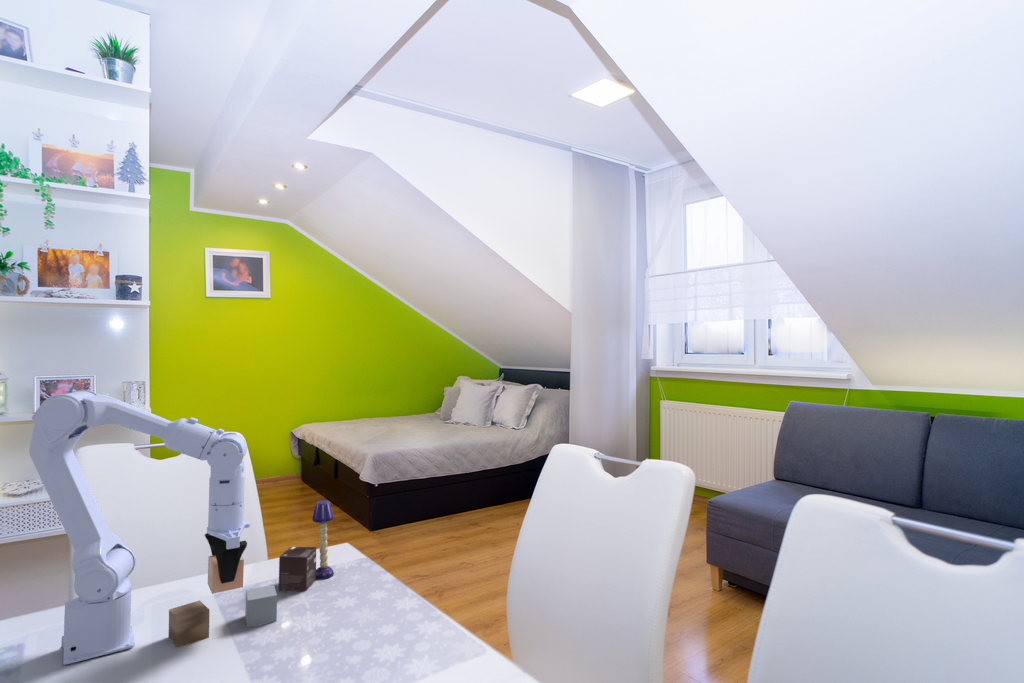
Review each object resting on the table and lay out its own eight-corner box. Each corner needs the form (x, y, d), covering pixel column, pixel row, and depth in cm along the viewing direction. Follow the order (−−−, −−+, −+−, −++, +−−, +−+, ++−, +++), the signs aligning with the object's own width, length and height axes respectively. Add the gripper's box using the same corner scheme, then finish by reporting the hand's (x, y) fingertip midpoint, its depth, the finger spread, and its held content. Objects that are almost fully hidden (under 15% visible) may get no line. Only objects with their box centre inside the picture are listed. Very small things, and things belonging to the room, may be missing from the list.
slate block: (247, 627, 104) (247, 600, 104) (245, 615, 108) (245, 589, 108) (276, 621, 106) (277, 595, 106) (273, 610, 110) (273, 584, 111)
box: (306, 591, 119) (306, 557, 119) (277, 591, 119) (278, 556, 119) (316, 579, 125) (317, 546, 125) (289, 579, 125) (290, 546, 125)
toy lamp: (313, 581, 124) (314, 505, 124) (309, 573, 128) (311, 500, 128) (335, 577, 126) (336, 502, 126) (331, 569, 130) (332, 497, 130)
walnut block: (177, 648, 96) (178, 619, 96) (168, 637, 100) (169, 609, 100) (208, 637, 100) (209, 609, 100) (199, 627, 103) (199, 600, 103)
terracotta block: (212, 593, 99) (212, 565, 99) (207, 583, 103) (208, 556, 103) (242, 587, 102) (243, 559, 102) (237, 577, 106) (238, 550, 106)
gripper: (259, 508, 99) (257, 585, 99) (242, 489, 111) (240, 558, 111) (214, 514, 95) (212, 595, 95) (201, 494, 106) (199, 566, 106)
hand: (224, 576), depth 102 cm, fingers closed on terracotta block, 5 cm apart
